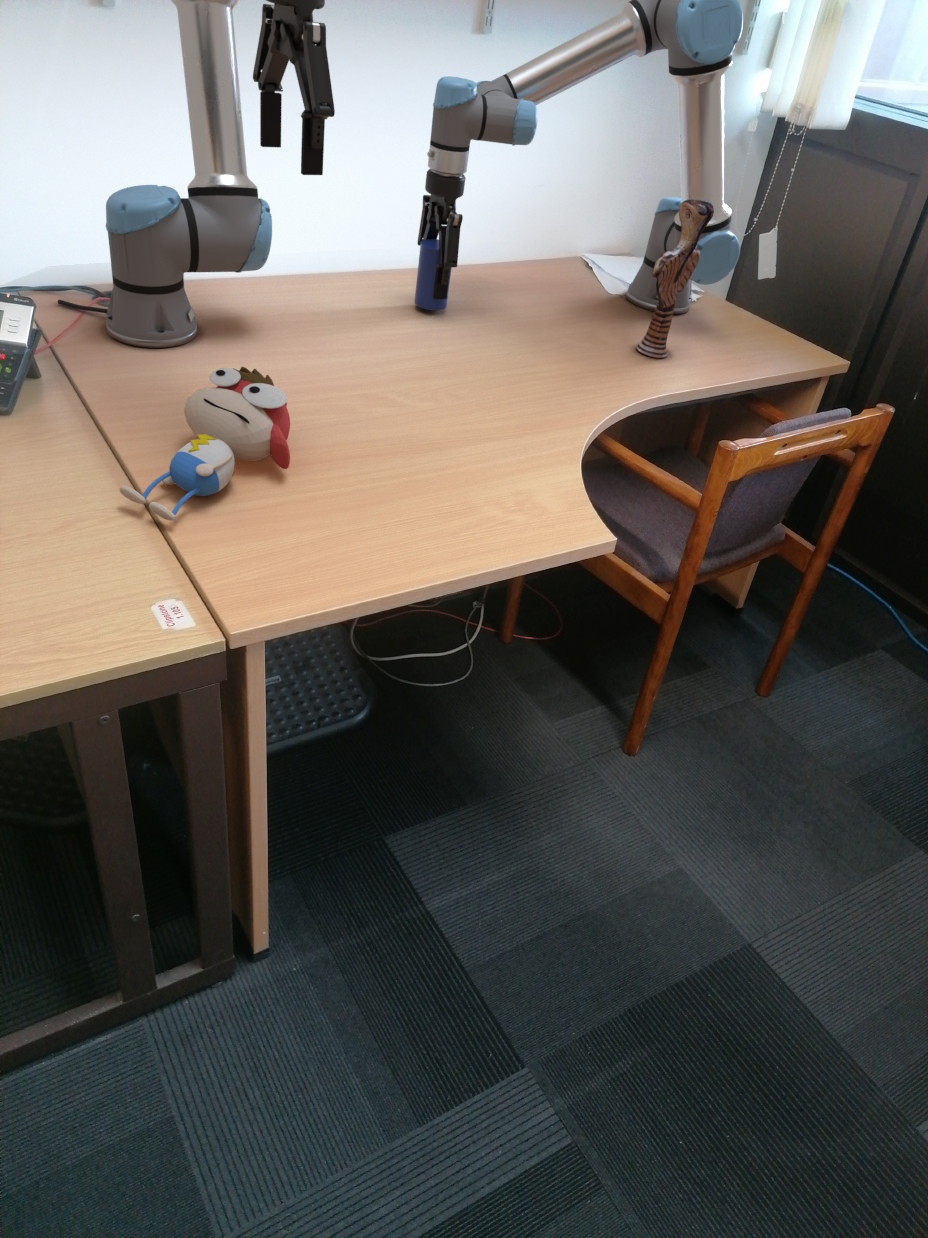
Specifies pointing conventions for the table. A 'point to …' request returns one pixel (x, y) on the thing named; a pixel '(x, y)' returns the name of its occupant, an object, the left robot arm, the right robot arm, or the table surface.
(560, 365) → the table surface
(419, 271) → the canister
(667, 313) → the figurine
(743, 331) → the table surface
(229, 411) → the toy
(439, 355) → the table surface
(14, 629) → the table surface
